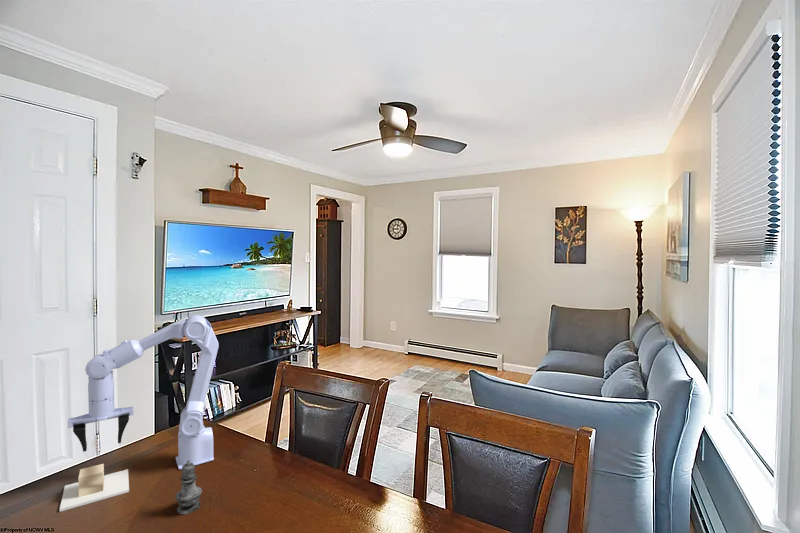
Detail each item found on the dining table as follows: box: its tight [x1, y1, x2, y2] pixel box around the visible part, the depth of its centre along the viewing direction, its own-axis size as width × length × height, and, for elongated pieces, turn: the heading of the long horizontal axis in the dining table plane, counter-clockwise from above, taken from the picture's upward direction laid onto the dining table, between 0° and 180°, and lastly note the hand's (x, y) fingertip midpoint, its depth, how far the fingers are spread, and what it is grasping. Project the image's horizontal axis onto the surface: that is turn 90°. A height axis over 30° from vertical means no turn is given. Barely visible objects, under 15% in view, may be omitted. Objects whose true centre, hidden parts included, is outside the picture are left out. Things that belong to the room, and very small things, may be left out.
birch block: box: [77, 463, 105, 497], centre depth 104 cm, size 5×5×5 cm
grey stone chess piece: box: [174, 460, 203, 515], centre depth 98 cm, size 6×6×12 cm
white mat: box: [59, 468, 130, 513], centre depth 105 cm, size 14×12×1 cm
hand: (102, 445), depth 110 cm, fingers open, 7 cm apart
